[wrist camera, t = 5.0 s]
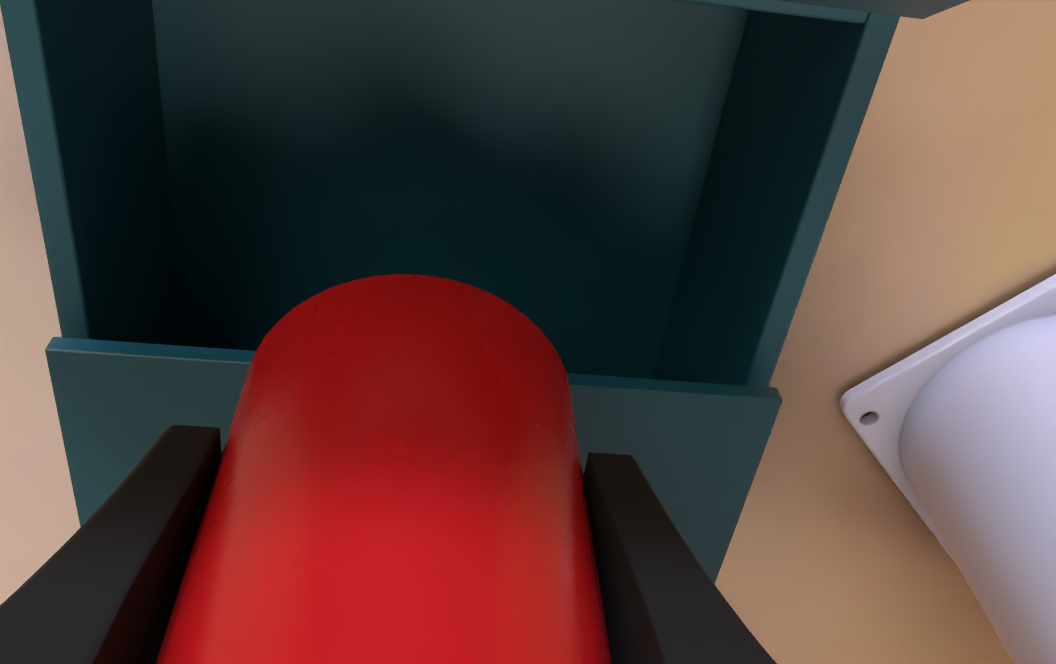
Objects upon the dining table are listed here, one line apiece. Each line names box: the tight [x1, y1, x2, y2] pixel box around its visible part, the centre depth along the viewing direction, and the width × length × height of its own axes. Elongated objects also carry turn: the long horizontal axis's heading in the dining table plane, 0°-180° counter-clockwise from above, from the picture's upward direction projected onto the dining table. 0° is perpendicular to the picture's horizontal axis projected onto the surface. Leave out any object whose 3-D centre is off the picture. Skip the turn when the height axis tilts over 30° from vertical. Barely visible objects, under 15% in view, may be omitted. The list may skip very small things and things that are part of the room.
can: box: [156, 274, 612, 664], centre depth 11 cm, size 5×5×8 cm
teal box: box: [0, 0, 900, 584], centre depth 19 cm, size 14×13×7 cm
